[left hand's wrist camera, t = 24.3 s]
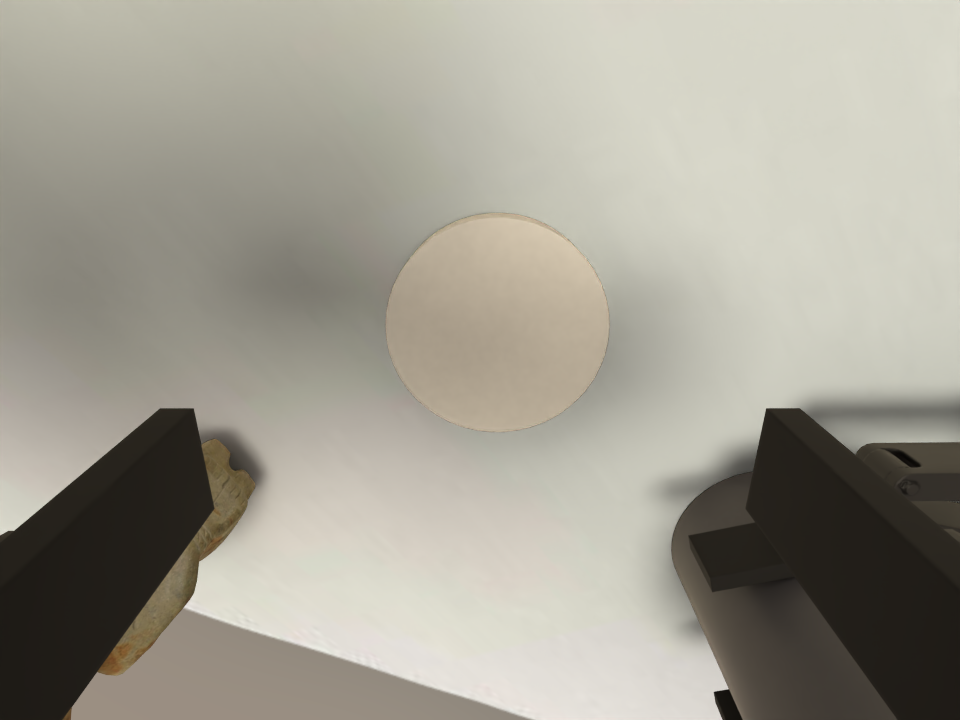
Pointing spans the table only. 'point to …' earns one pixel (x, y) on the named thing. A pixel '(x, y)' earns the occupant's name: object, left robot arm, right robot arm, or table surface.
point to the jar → (769, 631)
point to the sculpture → (185, 561)
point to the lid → (497, 323)
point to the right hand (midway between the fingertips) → (713, 647)
